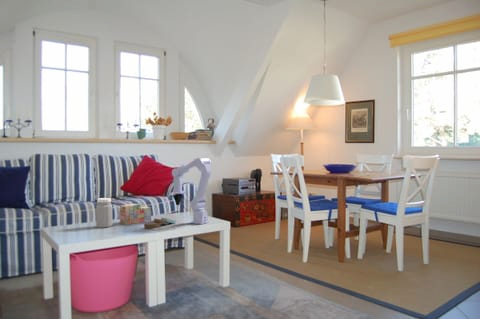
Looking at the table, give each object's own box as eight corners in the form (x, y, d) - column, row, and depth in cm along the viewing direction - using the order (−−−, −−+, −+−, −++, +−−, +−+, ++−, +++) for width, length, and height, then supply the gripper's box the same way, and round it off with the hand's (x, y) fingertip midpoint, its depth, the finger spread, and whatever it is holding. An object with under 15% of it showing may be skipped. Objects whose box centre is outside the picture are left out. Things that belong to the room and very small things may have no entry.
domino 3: (162, 221, 257) (154, 218, 249) (168, 222, 254) (160, 219, 247) (162, 224, 256) (153, 221, 249) (168, 224, 254) (159, 222, 246)
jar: (107, 228, 242) (107, 199, 241) (93, 228, 244) (92, 199, 243) (115, 225, 251) (115, 197, 251) (101, 225, 253) (101, 197, 253)
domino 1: (155, 221, 250) (144, 223, 243) (160, 222, 247) (149, 224, 240) (155, 224, 250) (144, 226, 243) (160, 225, 247) (149, 227, 240)
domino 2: (154, 224, 250) (144, 226, 242) (160, 225, 247) (150, 227, 240) (154, 227, 250) (144, 229, 242) (160, 228, 247) (150, 230, 240)
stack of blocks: (145, 219, 275) (145, 202, 275) (151, 220, 272) (151, 202, 271) (119, 223, 258) (119, 205, 258) (125, 225, 254) (125, 206, 254)
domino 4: (170, 220, 262) (161, 217, 254) (175, 221, 259) (166, 218, 252) (169, 222, 261) (160, 220, 254) (175, 223, 258) (166, 221, 251)
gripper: (180, 184, 282) (180, 203, 282) (166, 186, 269) (166, 205, 270) (187, 185, 278) (187, 204, 278) (174, 186, 266) (174, 206, 266)
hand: (177, 204), depth 274 cm, fingers closed
